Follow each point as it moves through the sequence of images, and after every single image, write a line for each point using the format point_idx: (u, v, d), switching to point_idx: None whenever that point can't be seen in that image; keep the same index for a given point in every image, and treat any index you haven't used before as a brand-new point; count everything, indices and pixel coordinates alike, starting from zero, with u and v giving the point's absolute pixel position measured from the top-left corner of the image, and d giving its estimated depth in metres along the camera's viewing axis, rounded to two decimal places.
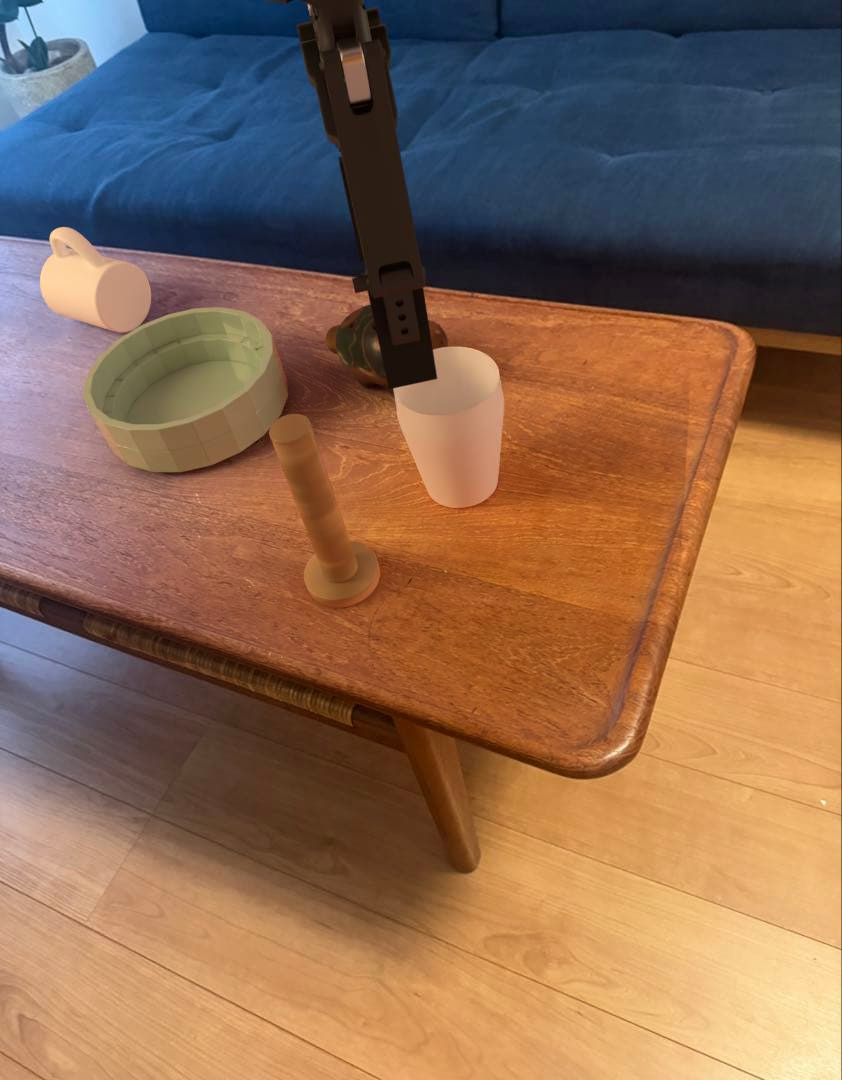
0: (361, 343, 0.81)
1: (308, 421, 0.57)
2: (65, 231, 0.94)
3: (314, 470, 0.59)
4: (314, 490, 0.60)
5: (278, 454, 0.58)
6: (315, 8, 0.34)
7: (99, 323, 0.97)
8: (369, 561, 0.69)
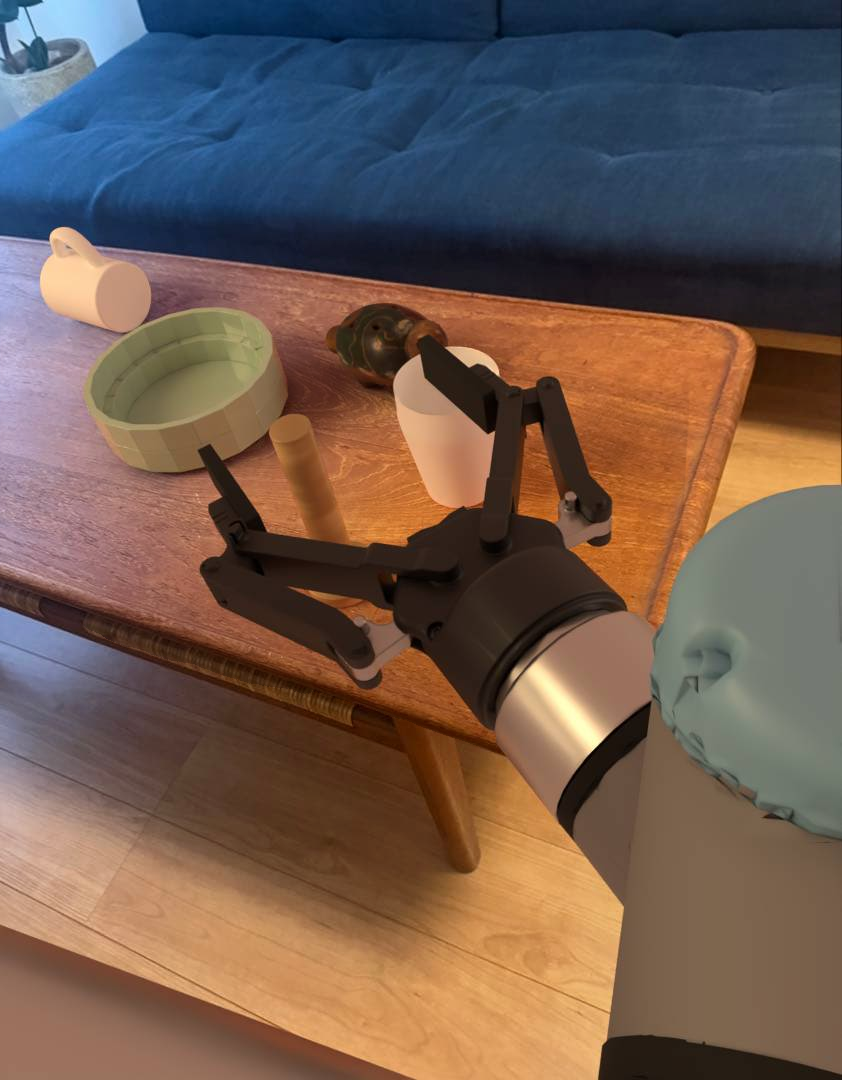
0: (361, 343, 0.81)
1: (308, 421, 0.57)
2: (65, 231, 0.94)
3: (314, 470, 0.59)
4: (314, 490, 0.60)
5: (278, 454, 0.58)
6: (432, 637, 0.33)
7: (99, 323, 0.97)
8: None
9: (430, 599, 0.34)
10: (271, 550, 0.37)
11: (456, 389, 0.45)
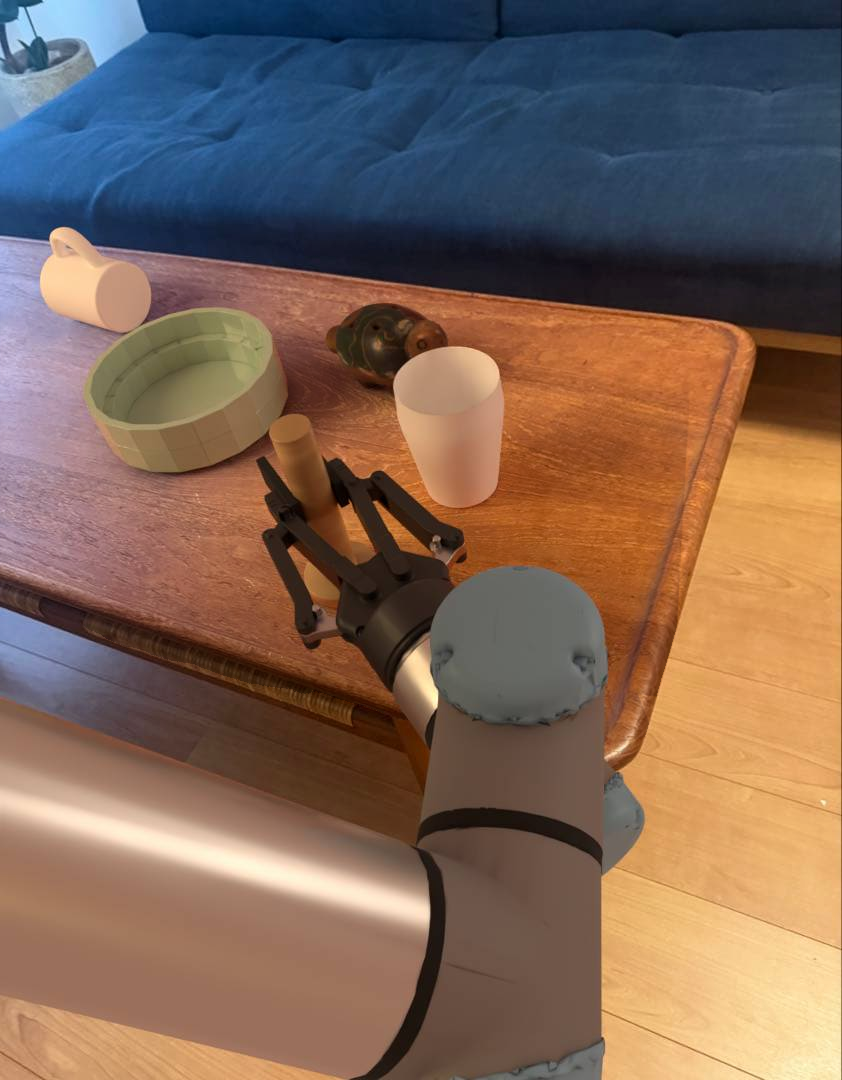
0: (361, 343, 0.81)
1: (308, 421, 0.57)
2: (65, 231, 0.94)
3: (314, 470, 0.59)
4: (314, 490, 0.60)
5: (278, 454, 0.58)
6: (359, 635, 0.52)
7: (99, 323, 0.97)
8: None
9: (359, 611, 0.53)
10: (296, 532, 0.59)
11: None
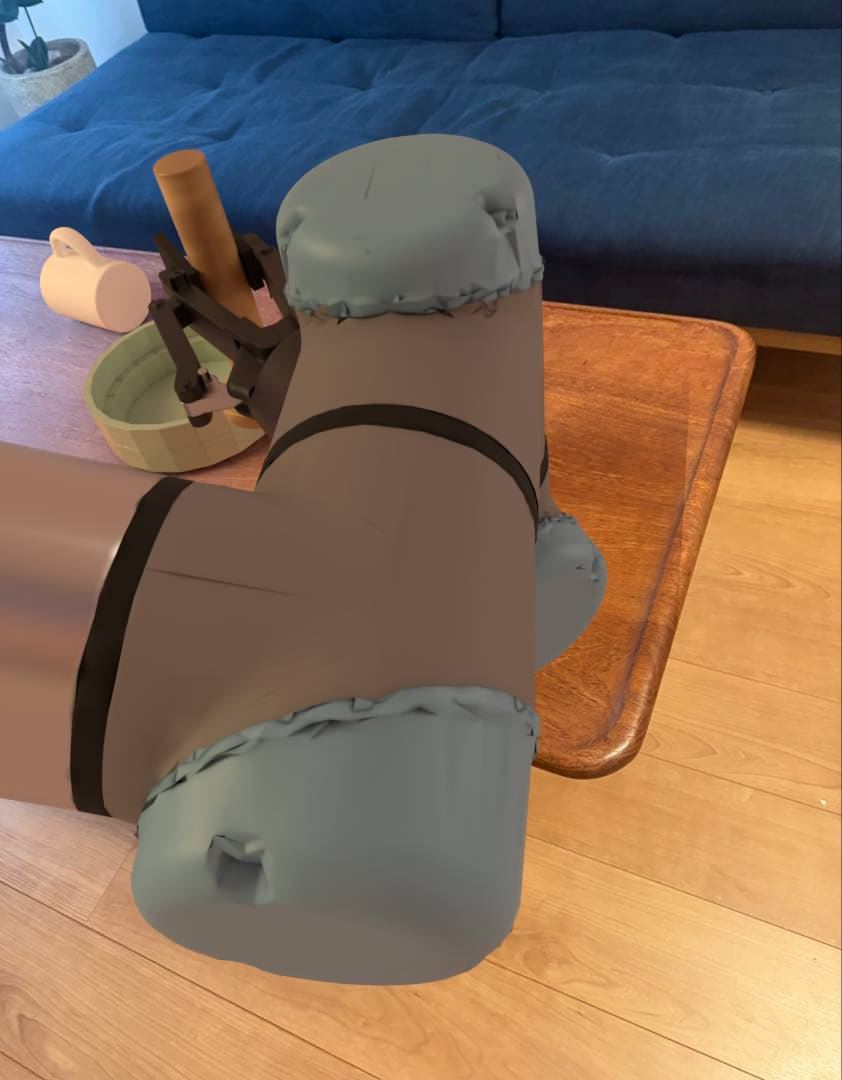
0: None
1: (202, 154, 0.46)
2: (65, 231, 0.94)
3: (213, 224, 0.47)
4: (215, 254, 0.49)
5: (165, 198, 0.46)
6: None
7: (99, 323, 0.97)
8: None
9: (255, 372, 0.42)
10: (190, 300, 0.47)
11: None
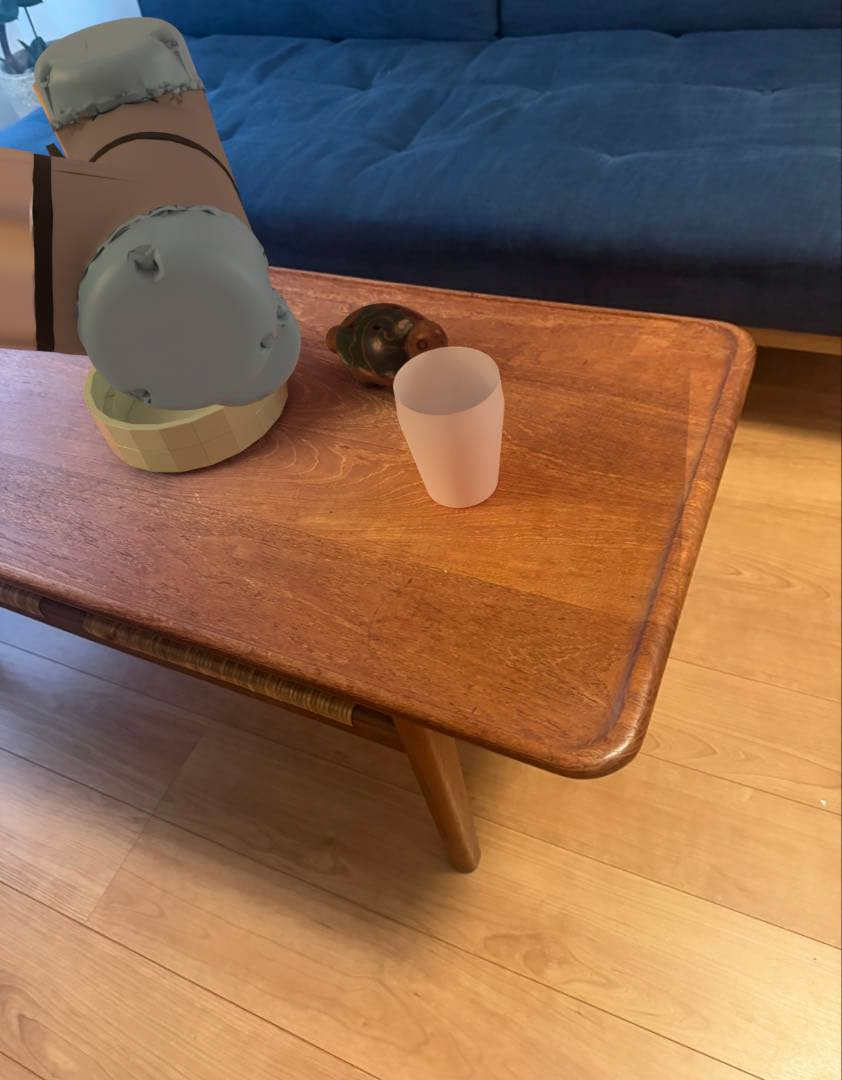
0: (361, 343, 0.81)
1: None
2: None
3: None
4: None
5: (43, 108, 0.63)
6: None
7: None
8: None
9: None
10: None
11: None
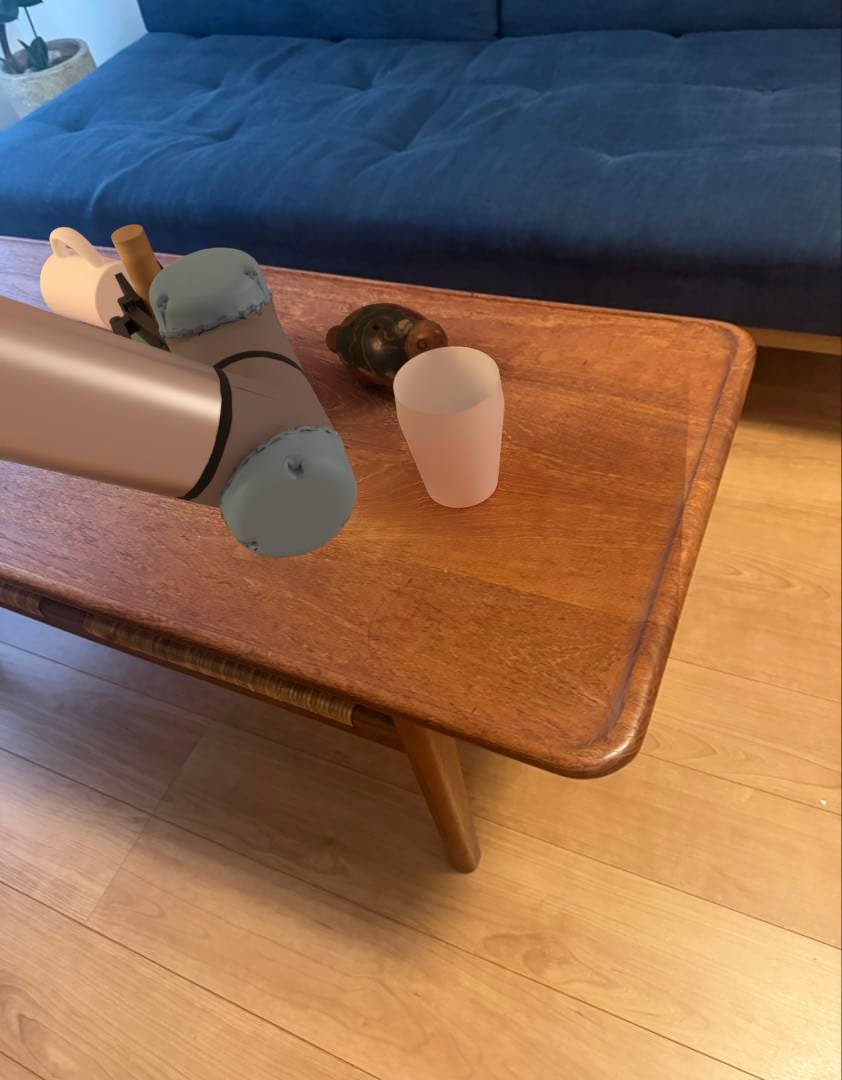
0: (361, 343, 0.81)
1: (141, 228, 0.75)
2: (65, 231, 0.94)
3: (149, 269, 0.77)
4: None
5: (119, 254, 0.76)
6: None
7: (99, 323, 0.97)
8: None
9: None
10: (135, 317, 0.77)
11: None
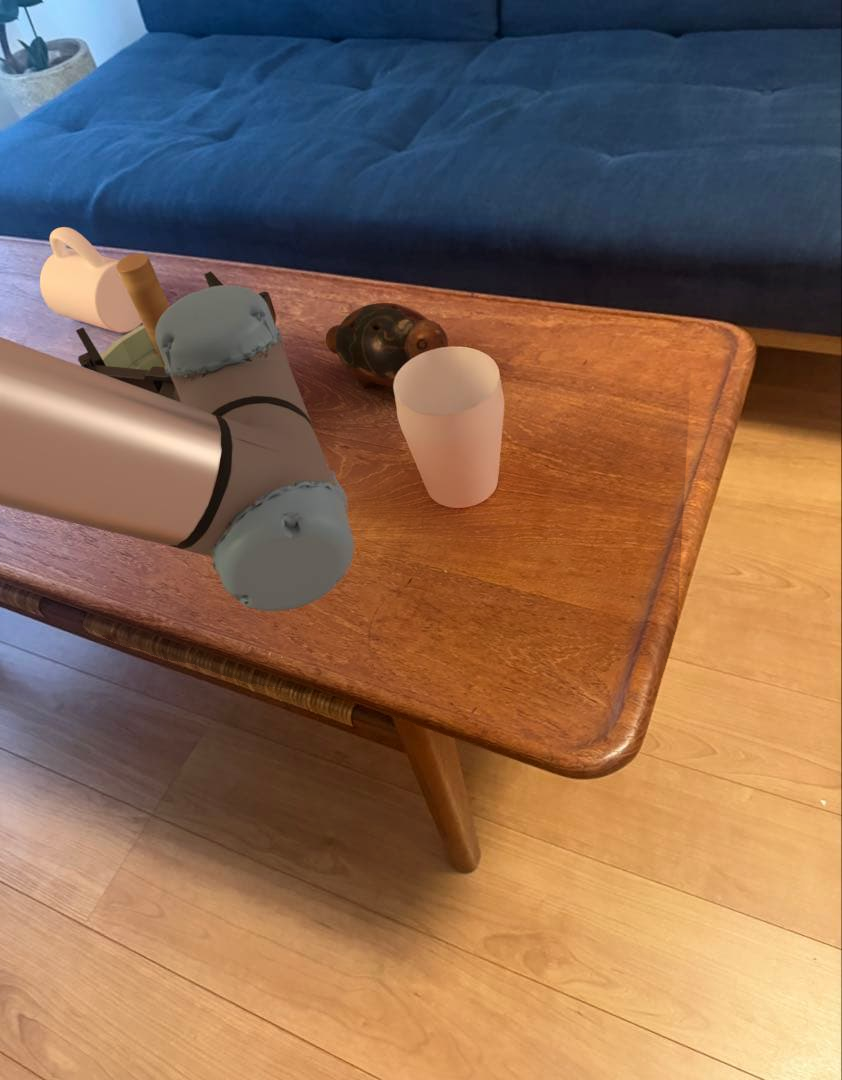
0: (361, 343, 0.81)
1: (146, 257, 0.75)
2: (65, 231, 0.94)
3: (154, 298, 0.76)
4: (157, 316, 0.77)
5: (124, 284, 0.75)
6: None
7: (99, 323, 0.97)
8: None
9: (174, 390, 0.71)
10: (104, 373, 0.74)
11: None
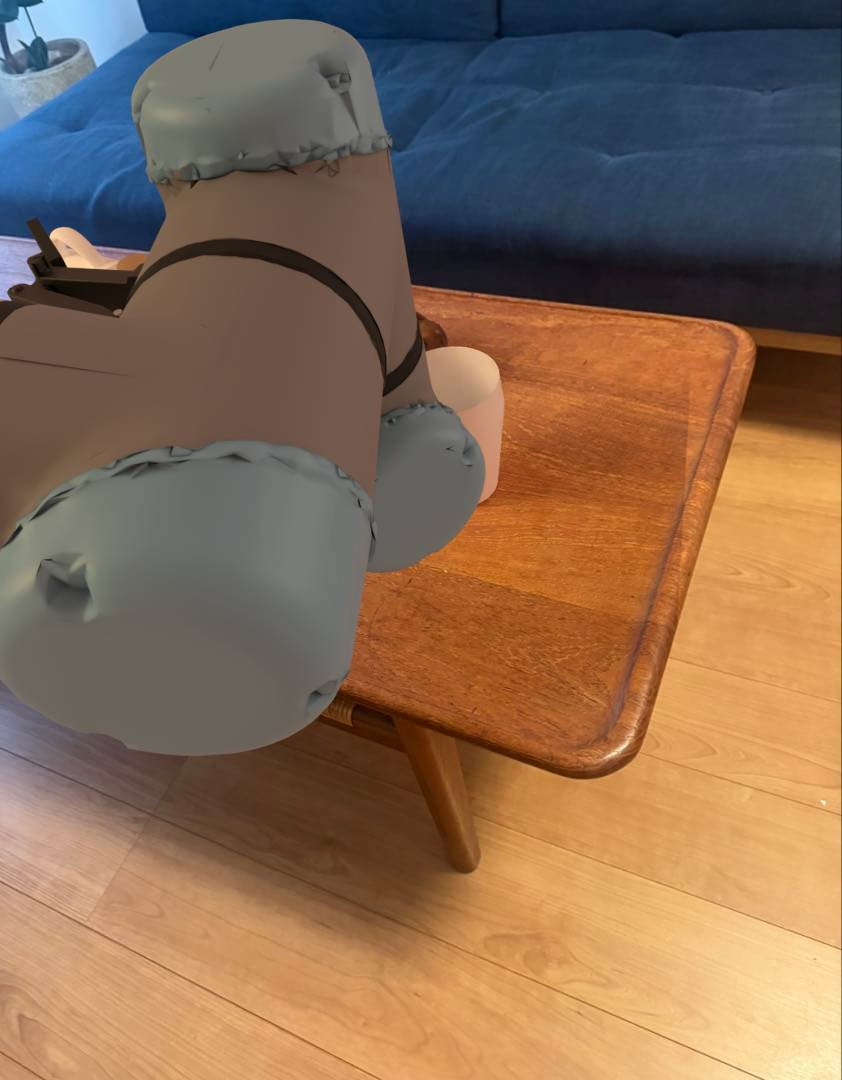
0: None
1: (146, 257, 0.75)
2: (65, 231, 0.94)
3: None
4: None
5: None
6: None
7: None
8: None
9: None
10: (65, 277, 0.47)
11: None
